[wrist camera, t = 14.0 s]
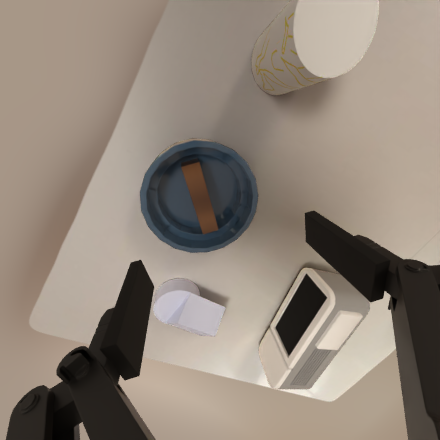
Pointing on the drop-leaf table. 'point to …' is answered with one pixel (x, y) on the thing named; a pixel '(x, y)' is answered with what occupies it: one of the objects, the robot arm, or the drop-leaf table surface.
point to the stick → (199, 195)
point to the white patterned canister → (313, 43)
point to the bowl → (182, 203)
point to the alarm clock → (310, 328)
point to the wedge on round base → (187, 308)
